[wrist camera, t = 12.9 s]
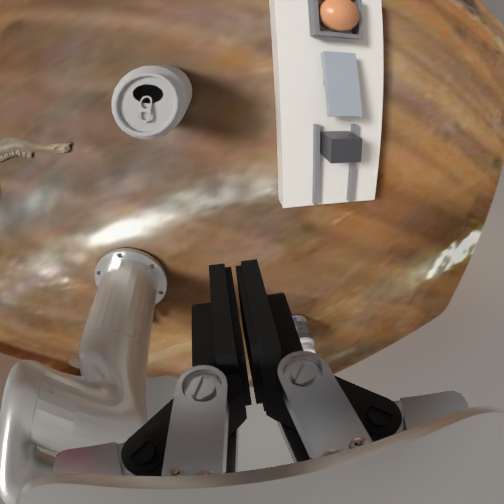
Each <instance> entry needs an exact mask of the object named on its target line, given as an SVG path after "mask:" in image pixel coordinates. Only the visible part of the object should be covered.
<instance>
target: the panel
mask: <svg viewBox="0 0 504 504" xmlns="http://www.w3.org/2000/svg"><path fill="white" fill-rule="evenodd" d="M323 1H325V0H269V6H270V20H271V34H272V50H273V67H274V86H275V106H276V129H277V155H278V187H279V200H280V202H281V204H282V207H283V208H289V207H298V206H309V205H319V204H330V203H341V202H353V201H366V200H375V192H376V184H377V175H378V165H379V154H380V142H381V127H382V109H383V23H382V5H381V0H350V1H352V2H353V3H354V4H355V5H356V7H357V9H358V11H359V21H358V23H357V25H356V26H355V27H353V28H352V29H349V30H344V31H331V30H328V29H326V28H325V27H323V26H322V25H321V24H320V22H319V10H318V6H319V4H320V3H321V2H323ZM323 51H332V52H345V53H356V61H357V69H358V77H359V86H360V97H361V108H362V117H327V108H326V97H325V87H324V77H323V68H322V60H321V53H322V52H323ZM320 131H350V132H352V133H353V134H355V135H357V136H359V137H360V138H362V155H361V162H352V163H330V162H329V161H328V160H327V159H326V158H324V157H323V156H322V155H321V154H320Z"/></svg>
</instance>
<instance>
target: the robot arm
mask: <svg viewBox="0 0 504 504" xmlns="http://www.w3.org/2000/svg"><path fill="white" fill-rule="evenodd" d="M236 273H237V282H238V291H239V299H240V308H241V316H242V324H243V330H244V336H245V342H246V348H247V353H248V359H249V365H250V370H251V376H252V381H253V387H254V392H255V398H256V403H257V404H259V403H263V407H264V411H266V414H267V415H268V416H269V417H271V418H273V419H274V420H276V421H277V422H278V425H279V428H280V430H281V433H282V435H283V438H284V440H285V442H286V445H287V447H288V449H289V452H290V454H291V456H292V459H293V461H294V463H292V464H287V465H281V466H276V467H270V468H264V469H257V470H250V471H242V472H237V469H238V468H237V466H238V436H239V434H238V433H239V430H238V428H239V426H240V425H241V424H242V423H243V422H244V421H245V419H246V418H247V415H246V408H245V406H246V405H251V397H250V390H249V382H248V375H247V367H246V359H245V352H244V346H243V340H242V334H241V328H240V321H239V315H238V309H237V303H236V296H235V290H234V284H233V277H232V271H231V267H226V268H225V265H224V264H217V265H209V275H210V292H211V303H205V304H197V305H192V368H189V369H188V370H186V371H185V372H183V374H182V375H181V376H180V377H179V379H178V381H177V384H176V390H175V395H174V398H173V399H172V400H171V401H170V402H169V403H168V404H167V405H166V406H164V407H163V408H162V409H161V410H160V411H159V412H158V413H157V414H156V415H154V416H153V417H152V418H151V419H150V420H148V412H147V405H146V374H147V363H148V354H149V345H150V337H151V329H152V322H153V314H154V307H155V305H156V304H157V303H159V302H160V301H161V300H162V299H163V297H164V295H165V293H166V290H167V276H166V273H165V271H164V269H163V267H162V266H161V264H160V263H159V262H158V261H157V260H156V259H155V258H154V257H152V256H151V255H149V254H147V253H145V252H143V251H140V250H137V249H133V248H118V249H115V250H111V251H110V252H108V253H106V254H105V255H104V256H102V257H101V259H100V260H99V262H98V264H97V266H96V269H95V281H96V285H97V287H98V289H97V292H96V295H95V298H94V301H93V304H92V307H91V310H90V312H89V316H88V319H87V322H86V325H85V328H84V331H83V334H82V338H81V341H80V345H79V349H78V363H79V367H80V371H81V373H82V376H83V378H84V381H83V380H79V379H77V378H74V377H72V376H69V375H67V374H64V373H62V372H59V371H57V370H55V369H52V368H50V367H47V366H45V365H42V364H40V363H37V362H35V361H31V360H21V361H19V362H17V363H16V364H15V365H14V366H13V368H12V369H11V371H10V373H9V376H8V378H7V382H6V385H5V389H4V394H3V399H2V405H1V412H0V496H1V498H2V499H3V501H4V502H5V503H6V504H504V408H502V407H497V406H475V407H468V404H467V402H466V400H465V398H464V397H463V396H462V395H461V394H460V393H458V392H455V391H445V392H440V393H433V394H427V395H420V396H413V397H404V398H400V400H399V401H391V400H389V399H388V398H386V397H383V396H381V395H378V394H376V393H373V392H371V391H368V390H366V389H364V388H362V387H359V386H357V385H355V384H352V383H350V382H348V381H345V380H343V379H341V378H339V377H337V376H334V375H333V373H332V371H331V370H330V368H329V366H328V364H327V363H326V361H325V360H324V359H323V358H322V357H321V356H319V355H318V354H316V353H313V352H310V351H304V350H303V347H302V344H301V341H300V338H299V335H298V332H297V329H296V326H295V323H294V321H293V318H292V315H291V312H290V309H289V306H288V303H287V300H286V297H285V295H284V293H278V294H271V295H267V294H266V291H265V287H264V284H263V280H262V276H261V273H260V269H259V266H258V262H257V259H255V260H248V261H241V266H236ZM37 445H38V446H40V447H42V448H45V449H48V450H50V451H53V452H56V453H59V454H57V455H56V457H54V456H51V455H49V454H46V453H44V452H42V451H40V450H39V449H38V447H37Z"/></svg>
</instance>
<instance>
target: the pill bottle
mask: <svg viewBox="0 0 504 504" xmlns="http://www.w3.org/2000/svg"><path fill="white" fill-rule="evenodd" d="M292 318H293V321H294V323H295V326H296V329H297V332H298V335H299V338H300V341H301V344H302V347H303V350H304V351H310V352H313V353H315V349H314V339H313V336H312V333H311V330H310V328H309V325H308V322H307V319H306V318H305V317H304V316H301V315H295V316H292Z"/></svg>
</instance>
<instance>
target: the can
mask: <svg viewBox="0 0 504 504" xmlns="http://www.w3.org/2000/svg"><path fill="white" fill-rule="evenodd" d="M191 99H192V86H191V82H190V80H189V78H188V77H187V75H186V74H185V73H184V72H183V71H181V70H180V69H178V68H177V67H173V66H169V65H154V66H142V67H140V68H137V69H135V70H132V71H130V72H129V73H128V74H127V75H125V76H124V77H123V78H122V79H121V80H120V82H119V83H118V85H117V86H116V88H115V90H114V93H113V97H112V113H113V116H114V118H115V121H116V123H117V124H118V125H119V126H120V128H121V129H122V130H123V131H124V132H126V133H127V134H129V135H131V136H132V137H136V138H140V139H155V138H158V137H161V136H164V135H166V134H168V133H169V132H170V131H172V130H173V129H174V128H176V126H177V125H178V124H179V122H180V121H181V120H182V118H183V116H184V114H185V112H186V110H187V108H188V106H189V104H190V101H191Z"/></svg>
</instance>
